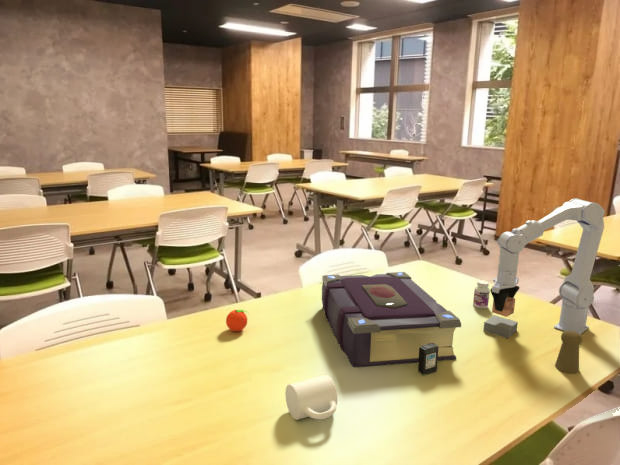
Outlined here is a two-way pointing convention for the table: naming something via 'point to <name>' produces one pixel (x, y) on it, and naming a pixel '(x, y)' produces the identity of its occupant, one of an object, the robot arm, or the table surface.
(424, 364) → the ink cartridge
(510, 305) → the terracotta cube
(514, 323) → the gray block
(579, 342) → the cork
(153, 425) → the table surface
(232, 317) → the clementine
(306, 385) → the mug
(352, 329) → the book
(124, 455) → the table surface
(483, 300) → the pill bottle
